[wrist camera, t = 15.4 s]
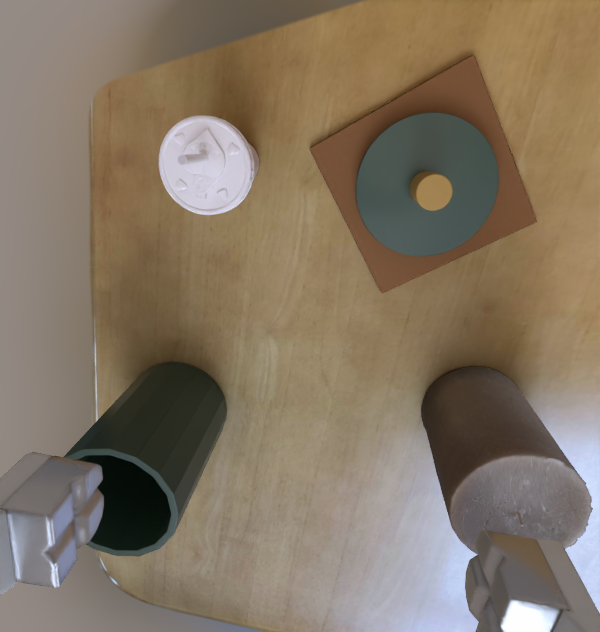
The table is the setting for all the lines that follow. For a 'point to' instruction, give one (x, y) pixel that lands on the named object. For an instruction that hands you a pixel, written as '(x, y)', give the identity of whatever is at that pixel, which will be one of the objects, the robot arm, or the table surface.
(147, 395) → the tin
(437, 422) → the pillar candle
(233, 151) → the smoothie
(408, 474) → the table surface
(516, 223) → the cork mat
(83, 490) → the robot arm
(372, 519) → the table surface
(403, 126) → the tin lid
